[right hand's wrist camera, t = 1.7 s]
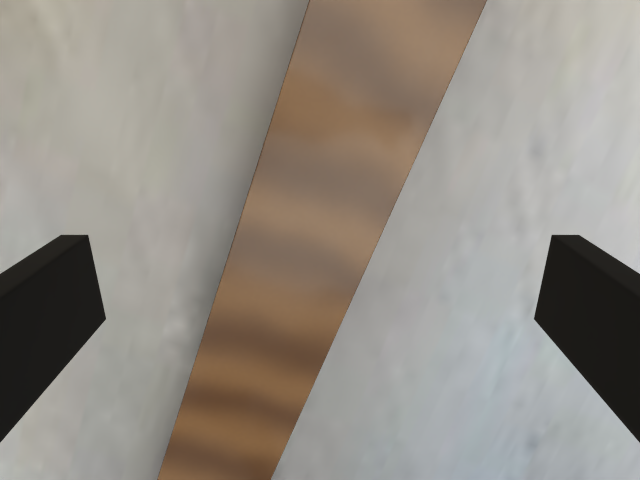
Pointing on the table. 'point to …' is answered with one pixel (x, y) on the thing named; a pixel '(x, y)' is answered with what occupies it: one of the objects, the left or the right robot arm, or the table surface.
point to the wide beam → (312, 222)
